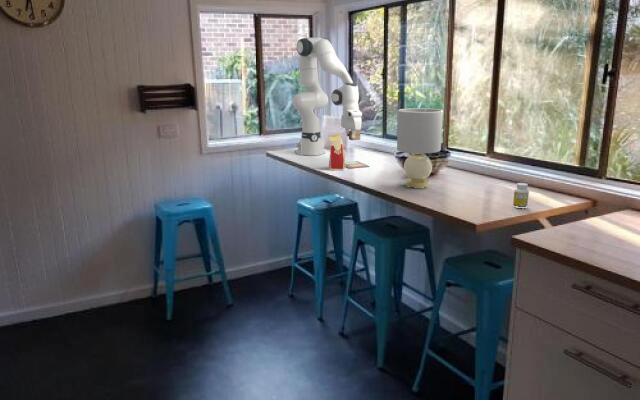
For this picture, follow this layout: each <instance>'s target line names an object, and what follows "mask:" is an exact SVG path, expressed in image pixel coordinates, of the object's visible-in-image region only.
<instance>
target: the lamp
mask: <svg viewBox="0 0 640 400" xmlns="http://www.w3.org/2000/svg"><path fill="white" fill-rule="evenodd" d="M443 116H444V111H443V110H442V109H437V108H428V107H427V108H425V107H424V108H423V107H421V108H419V107H418V108H417V107H416V108H415V107H414V108H400V109H398V110H397V124H396V125H397V127H396V128H397V131H396V132H397V134H396V135H397V136H396V150H397V151H398V152H403V153H408V154H410V155H409V156H408V157H407V158H406V159H405V161H404V165H403V170H404V174H405V176H407V177H408V178H406V179H405V187H407V186H409V187H417V188H416V189H423V188H422V187H427V186H430V180H429V179H427V178H428V177H429V176H430V175H431V173H432V170H433V164H432V161H431V159H430V158H429V157H428V156H427V155H426V154H432V153H433V154H434V153H438V152H440V151H441V150H442V149H441V148H442V134H443V132H442V131H443ZM409 187H408V188H409ZM427 188H428V187H427Z"/></svg>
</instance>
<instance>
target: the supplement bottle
mask: <svg viewBox="0 0 640 400" xmlns="http://www.w3.org/2000/svg"><path fill="white" fill-rule="evenodd" d="M528 185H529V184H528V183H526V182H525V183H524V182H517V183H516V188H515V189H514V192H513V202H512V203H513V204H512V206H513V205H514V206H518V207H526V206H527V207H528V205H529V204H528V203H529V196H530V195H529V193H530V191H529V189H528Z"/></svg>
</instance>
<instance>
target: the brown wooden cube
mask: <svg viewBox="0 0 640 400" xmlns="http://www.w3.org/2000/svg"><path fill="white" fill-rule="evenodd" d="M351 135H352V130H349V136H348V140H350V141H360V140H361V130H360V131H356V134H355V138H352V137H351Z"/></svg>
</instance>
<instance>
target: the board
mask: <svg viewBox="0 0 640 400" xmlns="http://www.w3.org/2000/svg"><path fill="white" fill-rule="evenodd" d="M369 167H370V165H367V164H365V163H363V162H360V161H358V160H353V161H345V168H346V169H351V170H352V169H361V168H369Z"/></svg>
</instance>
